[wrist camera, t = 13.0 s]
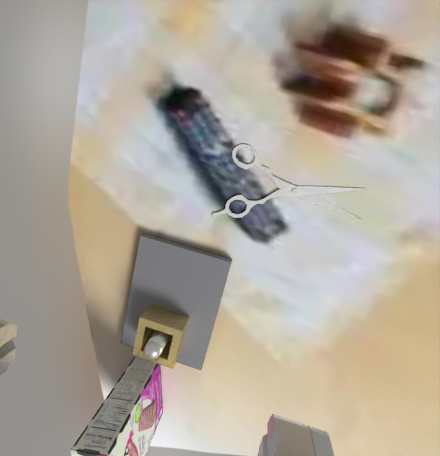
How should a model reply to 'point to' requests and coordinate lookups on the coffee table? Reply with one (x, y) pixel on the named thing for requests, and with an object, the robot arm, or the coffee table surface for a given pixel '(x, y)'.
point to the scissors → (283, 190)
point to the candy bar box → (125, 414)
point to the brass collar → (165, 323)
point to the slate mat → (177, 291)
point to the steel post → (156, 344)
